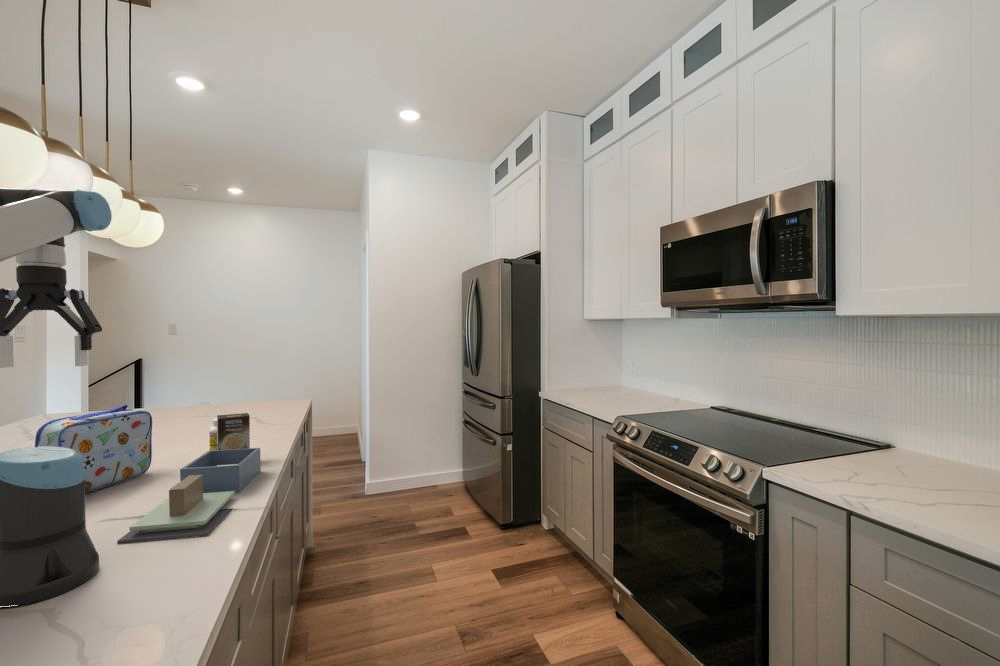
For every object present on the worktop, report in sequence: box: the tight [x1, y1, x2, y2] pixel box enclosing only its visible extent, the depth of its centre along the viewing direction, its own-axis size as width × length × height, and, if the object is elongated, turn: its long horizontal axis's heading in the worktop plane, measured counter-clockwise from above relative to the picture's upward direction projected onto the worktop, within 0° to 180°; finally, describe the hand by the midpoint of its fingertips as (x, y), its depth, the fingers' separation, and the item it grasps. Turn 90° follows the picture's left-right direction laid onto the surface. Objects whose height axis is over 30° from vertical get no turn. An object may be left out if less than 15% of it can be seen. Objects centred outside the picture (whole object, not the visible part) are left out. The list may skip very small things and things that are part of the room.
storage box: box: [179, 447, 261, 494], centre depth 130 cm, size 18×14×8 cm
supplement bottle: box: [208, 418, 217, 450], centre depth 160 cm, size 7×7×13 cm
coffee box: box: [216, 412, 251, 450], centre depth 149 cm, size 9×6×16 cm
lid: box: [129, 475, 236, 533], centre depth 108 cm, size 18×14×8 cm
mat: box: [116, 507, 234, 545], centre depth 108 cm, size 22×17×1 cm
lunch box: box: [34, 404, 153, 494], centre depth 131 cm, size 28×10×22 cm, turn 168°
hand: (44, 366), depth 98 cm, fingers open, 13 cm apart
